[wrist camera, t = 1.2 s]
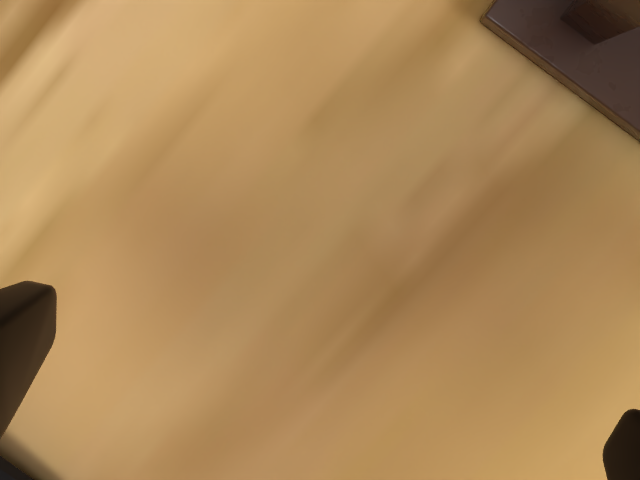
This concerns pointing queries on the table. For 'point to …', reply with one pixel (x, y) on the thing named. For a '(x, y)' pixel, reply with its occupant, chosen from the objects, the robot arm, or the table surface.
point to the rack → (580, 48)
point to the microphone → (11, 471)
